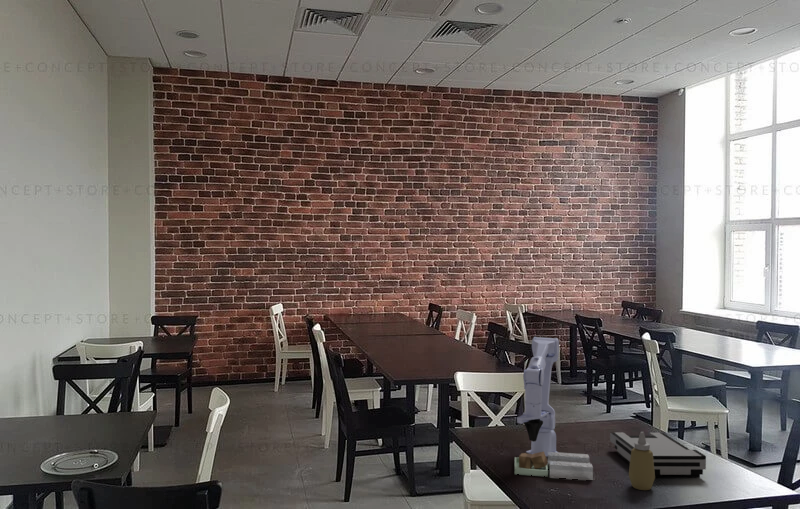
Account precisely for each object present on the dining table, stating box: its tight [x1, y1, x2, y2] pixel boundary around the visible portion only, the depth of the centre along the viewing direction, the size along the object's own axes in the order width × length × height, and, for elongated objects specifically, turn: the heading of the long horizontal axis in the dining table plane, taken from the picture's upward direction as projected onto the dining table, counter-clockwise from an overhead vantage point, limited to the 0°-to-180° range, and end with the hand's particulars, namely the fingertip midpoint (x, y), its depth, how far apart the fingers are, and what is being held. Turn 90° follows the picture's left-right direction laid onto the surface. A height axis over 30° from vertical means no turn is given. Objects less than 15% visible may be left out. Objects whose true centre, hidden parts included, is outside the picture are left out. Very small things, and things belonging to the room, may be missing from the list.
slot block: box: [547, 451, 594, 481], centre depth 217 cm, size 14×14×4 cm
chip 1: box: [518, 452, 533, 469], centre depth 221 cm, size 4×4×4 cm
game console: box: [609, 431, 707, 478], centre depth 227 cm, size 21×32×8 cm, turn 2°
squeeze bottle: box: [628, 431, 656, 491], centre depth 203 cm, size 8×8×18 cm
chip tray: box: [514, 456, 549, 478], centre depth 219 cm, size 11×12×2 cm
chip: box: [531, 451, 548, 469], centre depth 219 cm, size 4×4×4 cm
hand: (532, 440), depth 222 cm, fingers closed
